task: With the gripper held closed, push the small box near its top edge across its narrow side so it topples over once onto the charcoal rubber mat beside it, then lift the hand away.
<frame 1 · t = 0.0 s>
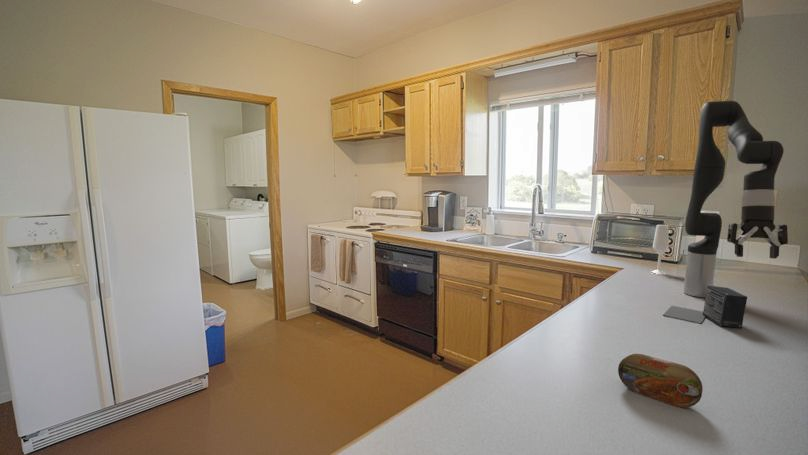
hand: (756, 257, 119), 22 cm above the countertop, tool pointing down, fingers open, 8 cm apart
champagne flute: (658, 273, 191), on the countertop
small box: (721, 322, 126), on the countertop, touching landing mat
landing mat: (685, 314, 133), on the countertop
tin: (656, 397, 83), on the countertop
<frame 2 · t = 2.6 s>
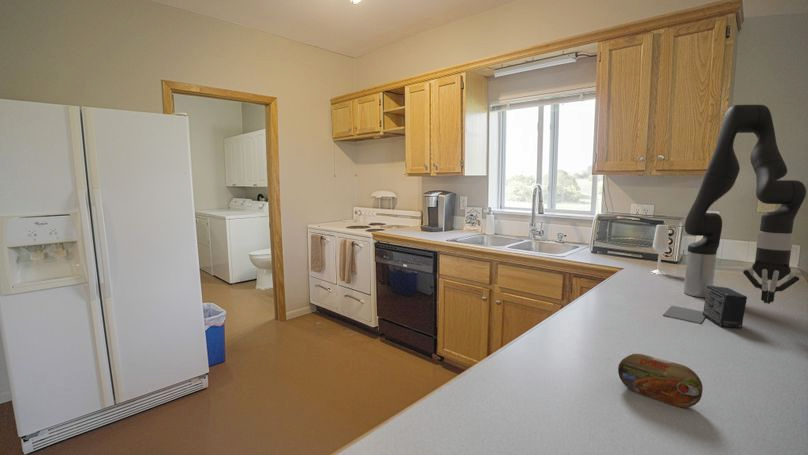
hand: (766, 302, 118), 9 cm above the countertop, tool pointing down, fingers closed
nothing on the countertop moved.
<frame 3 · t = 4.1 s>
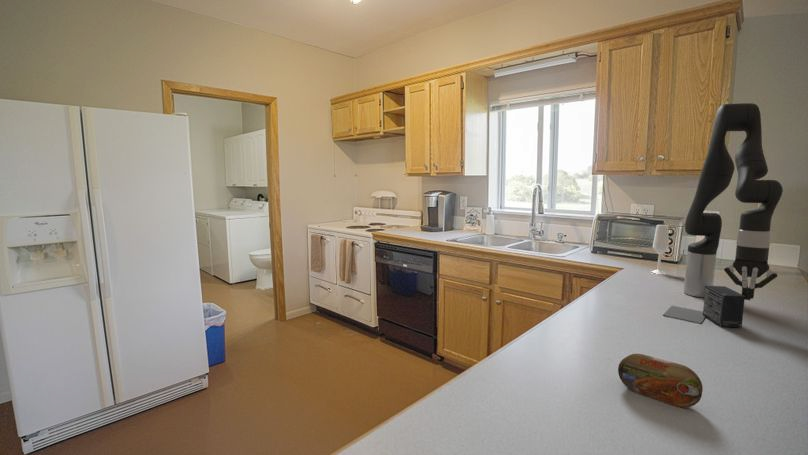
hand: (747, 299, 121), 9 cm above the countertop, tool pointing down, fingers closed
small box: (721, 321, 126), on the countertop, touching gripper, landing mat
everything else where it was.
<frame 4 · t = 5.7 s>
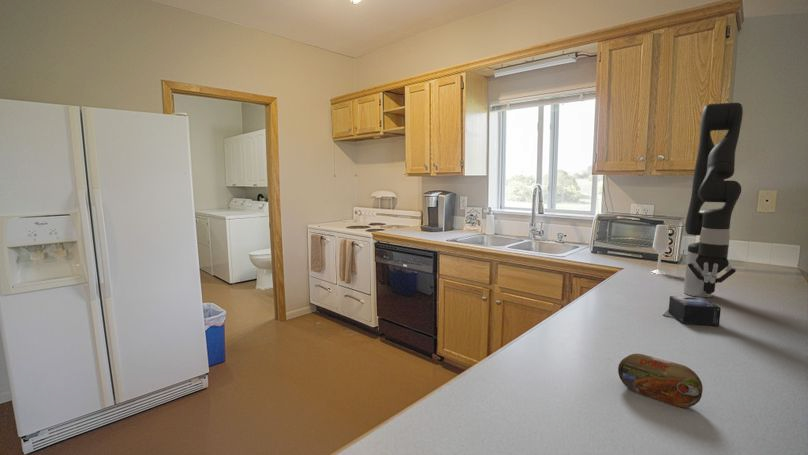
hand: (708, 293, 128), 9 cm above the countertop, tool pointing down, fingers closed
small box: (712, 310, 126), point 4 cm above the countertop, touching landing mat
everything else where it was.
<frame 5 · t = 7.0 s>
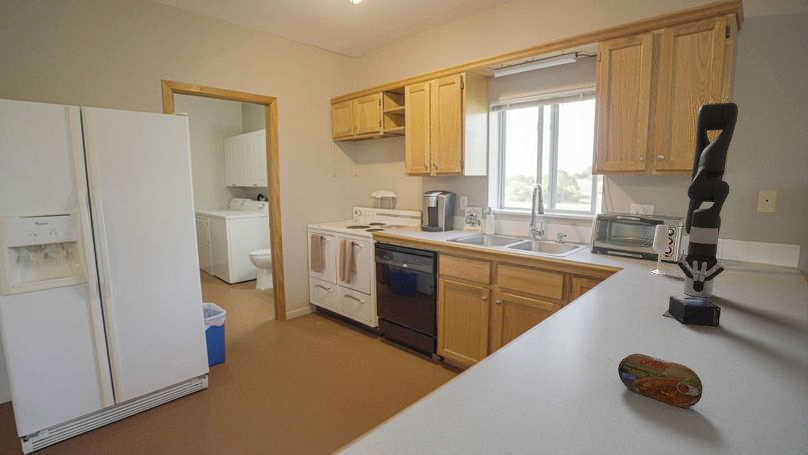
hand: (697, 291, 130), 9 cm above the countertop, tool pointing down, fingers closed
nothing on the countertop moved.
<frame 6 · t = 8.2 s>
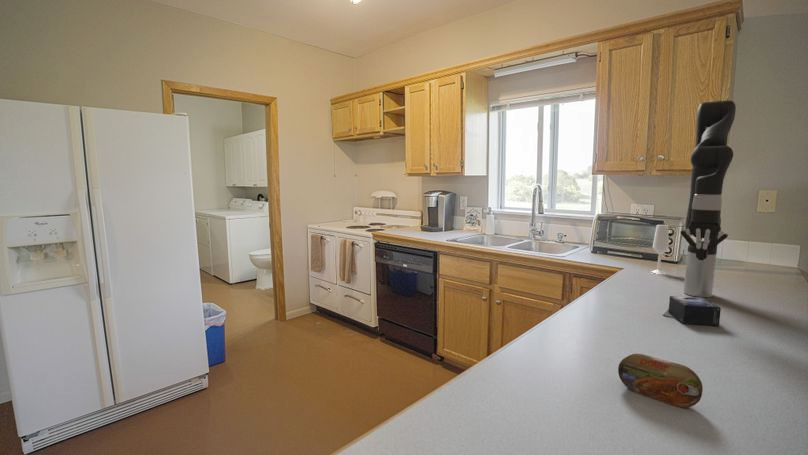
hand: (701, 259, 129), 20 cm above the countertop, tool pointing down, fingers closed
nothing on the countertop moved.
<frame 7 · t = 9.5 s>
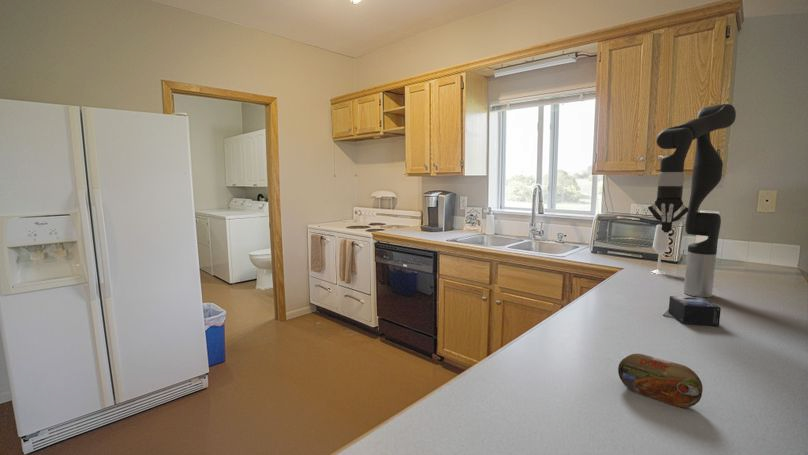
hand: (666, 232, 142), 27 cm above the countertop, tool pointing down, fingers closed
nothing on the countertop moved.
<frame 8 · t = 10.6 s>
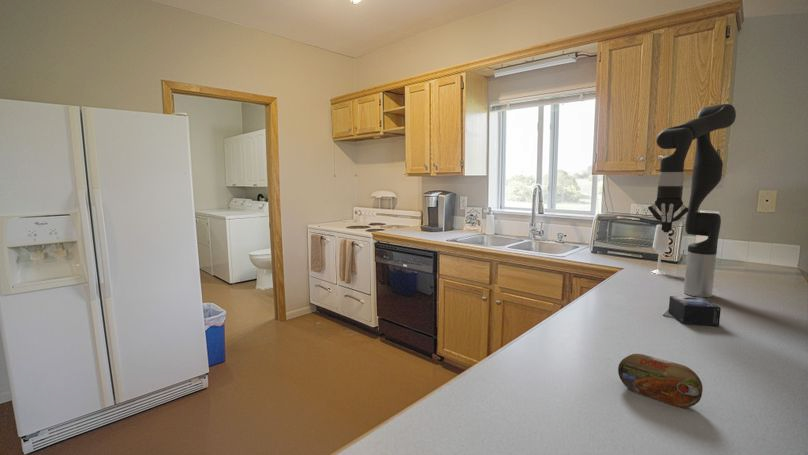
hand: (666, 232, 142), 27 cm above the countertop, tool pointing down, fingers closed
nothing on the countertop moved.
at the end: small box tilted 91°; small box touching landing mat; small box inside the target area (2.2 cm from its centre), point 3.5 cm above the countertop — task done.
